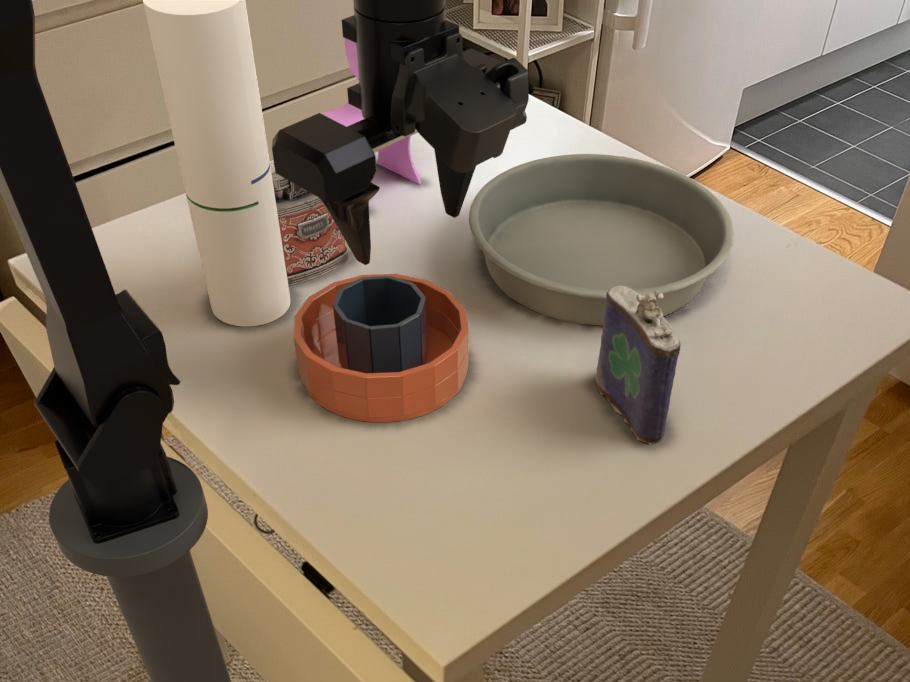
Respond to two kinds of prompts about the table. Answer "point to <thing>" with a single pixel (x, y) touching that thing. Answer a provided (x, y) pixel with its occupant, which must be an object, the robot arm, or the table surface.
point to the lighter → (306, 233)
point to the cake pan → (598, 233)
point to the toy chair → (388, 157)
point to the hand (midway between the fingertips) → (408, 238)
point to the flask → (637, 361)
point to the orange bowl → (382, 391)
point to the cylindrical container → (222, 153)
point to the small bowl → (380, 325)
